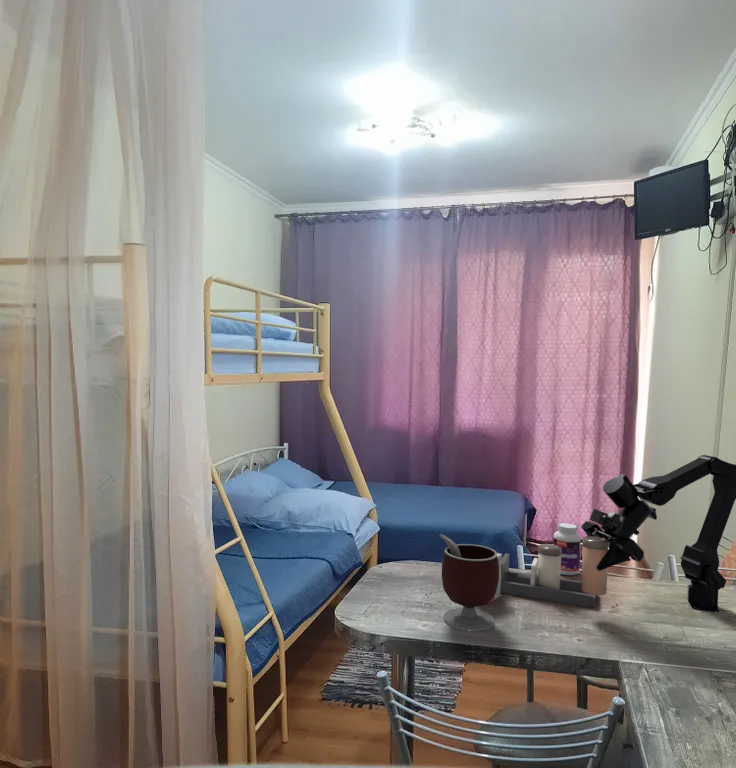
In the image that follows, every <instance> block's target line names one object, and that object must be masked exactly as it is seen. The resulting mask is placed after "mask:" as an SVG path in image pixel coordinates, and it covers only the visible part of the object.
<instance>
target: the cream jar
mask: <svg viewBox="0 0 736 768" xmlns="http://www.w3.org/2000/svg"><path fill="white" fill-rule="evenodd" d="M537 551H538V554H537V556H538V585H537V586H540V587H546V588H553V589H559V590H560V578H561V575H562V574H561V554H562V548H561V547H560V546H557V545H553V543H552V544H551V543H542V544H541V543H540V544H538V549H537Z"/></svg>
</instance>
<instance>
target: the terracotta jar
mask: <svg viewBox="0 0 736 768" xmlns="http://www.w3.org/2000/svg"><path fill="white" fill-rule="evenodd" d="M581 543H582V544H581V545H582V556H581V559H582V560H581V561H582V562H581V563H582V564H581V582H582V588H581V589H582V591H583V592H585V593H588V594H592V595H596V596H603V595H604V596H605V595H606V594H608V568H609V567H608V568H606V569H603V570H601V571H599V570H598V569H597V568H596V567H597V566H598V564H599V562H600V561H601V560H602V558H603V557H604V556H605V554H606V553H607V552H608V550H609V541H608V540H607V539H604V538H601V537H594V536H588V537H587V536H584V537H582V541H581Z"/></svg>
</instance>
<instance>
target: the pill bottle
mask: <svg viewBox="0 0 736 768" xmlns="http://www.w3.org/2000/svg"><path fill="white" fill-rule="evenodd" d="M557 529H558V530H557V531H555V532H554V533H553V536H552V537H553V538H552V539H553V540H552V544H553V545H557V546H560V547H561V548H562V554H561V574H560V575H563V576H575V575H577V574H579V573H580V571H581V570H580V566H581V547H582V546H581V545H582V544H581V543H582V537H581V535H580V534H579V533H578V526H577V525H575V524H572V523H566V522H565V523H561V522H560V523H558V525H557Z"/></svg>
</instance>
